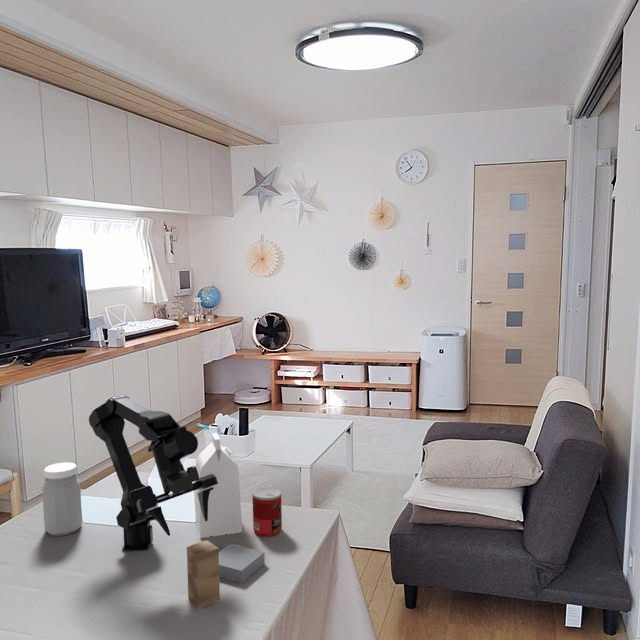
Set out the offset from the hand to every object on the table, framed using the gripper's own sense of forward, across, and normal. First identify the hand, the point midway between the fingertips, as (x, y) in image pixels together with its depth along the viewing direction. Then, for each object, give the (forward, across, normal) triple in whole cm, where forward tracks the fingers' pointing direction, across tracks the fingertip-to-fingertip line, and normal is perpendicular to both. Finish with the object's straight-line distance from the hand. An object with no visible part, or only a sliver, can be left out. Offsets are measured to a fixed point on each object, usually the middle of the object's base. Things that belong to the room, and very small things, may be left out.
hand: (188, 528), depth 144 cm
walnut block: (+15, -2, -6) cm, 17 cm away
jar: (-10, -24, +42) cm, 49 cm away
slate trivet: (+13, +9, +3) cm, 16 cm away
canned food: (+9, +24, +17) cm, 31 cm away
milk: (+4, +13, +26) cm, 29 cm away
